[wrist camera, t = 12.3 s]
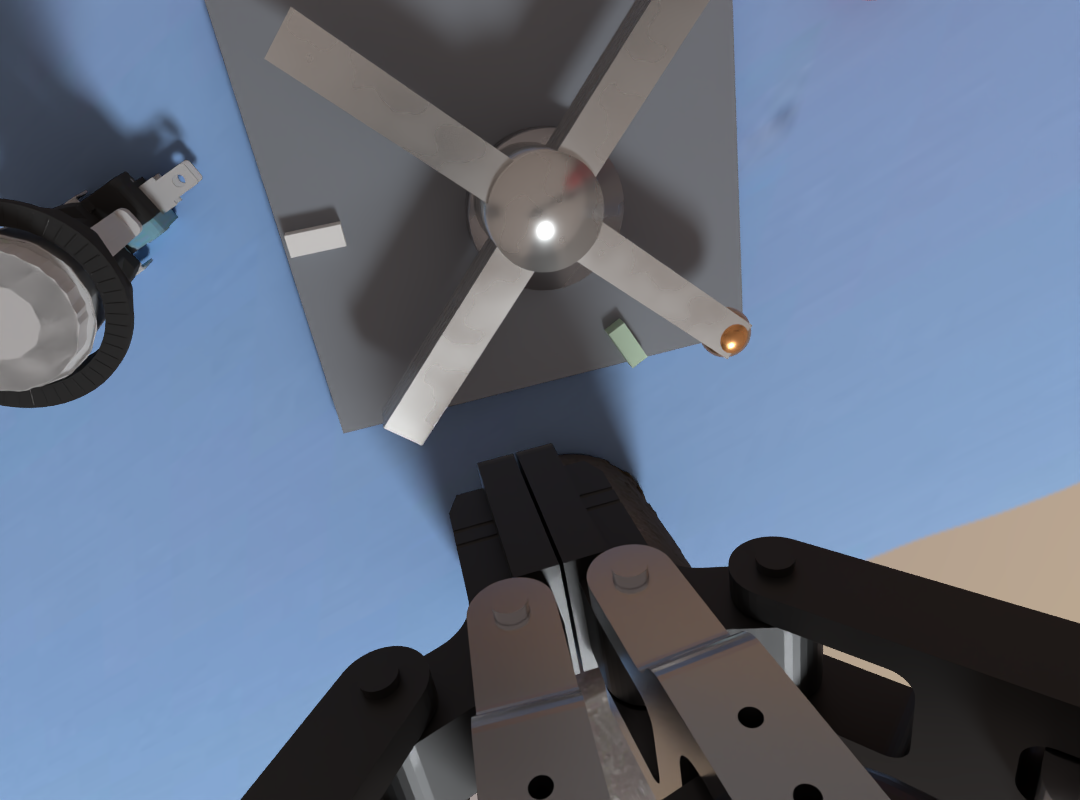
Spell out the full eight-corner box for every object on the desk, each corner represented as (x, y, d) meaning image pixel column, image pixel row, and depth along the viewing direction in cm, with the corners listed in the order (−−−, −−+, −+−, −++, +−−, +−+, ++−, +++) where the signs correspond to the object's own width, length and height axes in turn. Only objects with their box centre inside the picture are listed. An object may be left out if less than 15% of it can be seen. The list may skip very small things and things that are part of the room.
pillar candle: (663, 451, 36) (847, 677, 23) (631, 611, 40) (772, 885, 26) (465, 452, 33) (542, 708, 20) (452, 623, 37) (509, 933, 24)
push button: (141, 100, 25) (33, 123, 16) (253, 230, 27) (212, 312, 18) (-16, 214, 25) (-207, 300, 16) (109, 333, 27) (2, 462, 19)
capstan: (160, 280, 26) (133, 315, 23) (435, -256, 22) (453, -316, 18) (587, 488, 34) (616, 537, 31) (847, 128, 30) (914, 137, 27)
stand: (716, -83, 27) (737, -91, 25) (732, 326, 34) (750, 338, 33) (208, -2, 24) (200, -5, 23) (344, 424, 31) (344, 441, 30)
